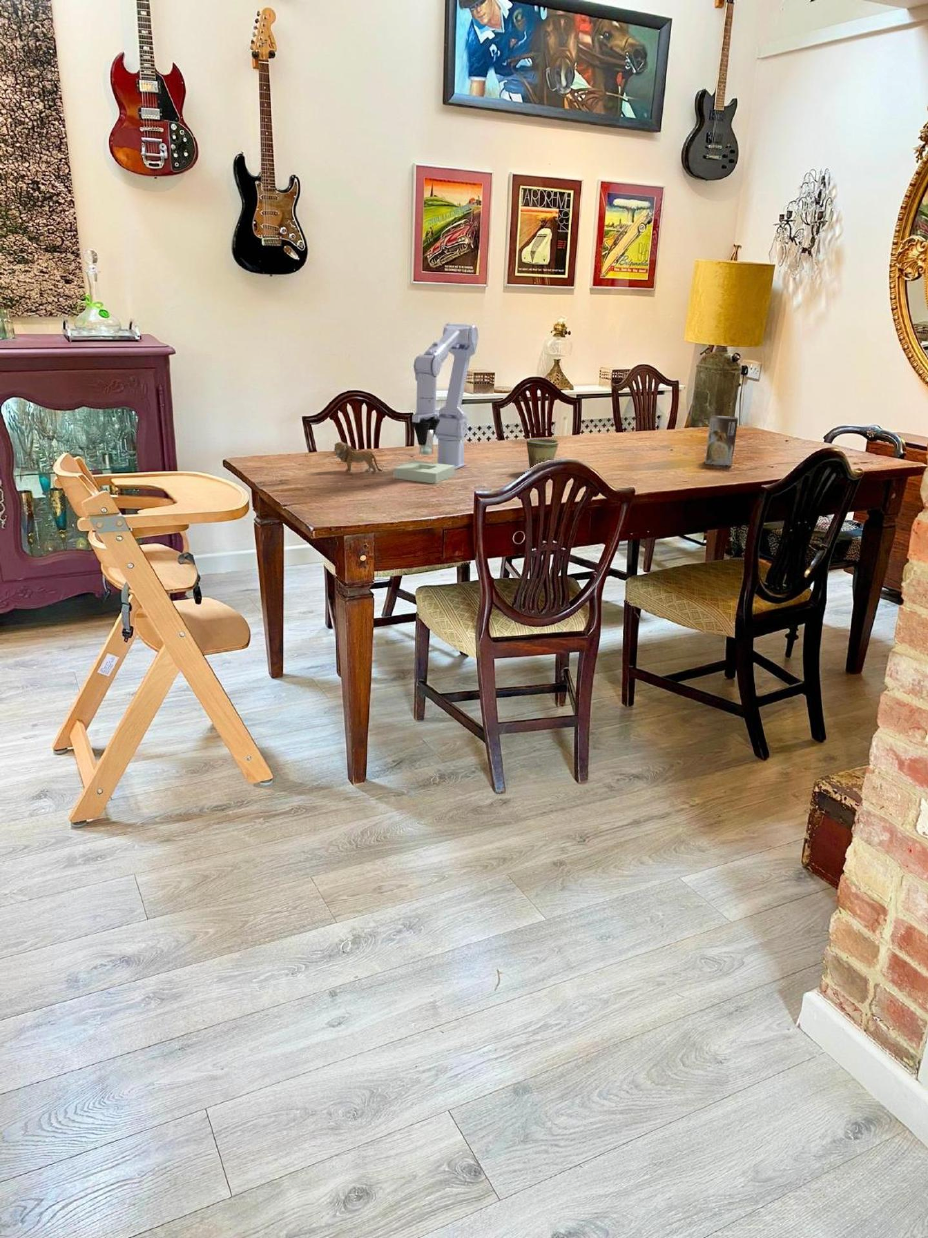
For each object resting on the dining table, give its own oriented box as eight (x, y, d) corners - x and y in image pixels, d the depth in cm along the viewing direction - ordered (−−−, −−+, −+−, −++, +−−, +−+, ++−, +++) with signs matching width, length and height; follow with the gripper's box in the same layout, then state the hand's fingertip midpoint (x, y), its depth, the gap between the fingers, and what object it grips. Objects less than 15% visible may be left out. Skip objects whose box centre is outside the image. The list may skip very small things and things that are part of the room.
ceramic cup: (554, 476, 272) (556, 444, 269) (522, 474, 274) (524, 442, 270) (558, 468, 284) (560, 437, 281) (528, 466, 286) (530, 435, 282)
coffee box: (731, 463, 306) (738, 416, 301) (731, 466, 301) (739, 419, 295) (704, 460, 308) (710, 414, 302) (704, 464, 302) (711, 417, 297)
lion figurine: (333, 472, 265) (332, 442, 262) (335, 469, 270) (335, 439, 267) (381, 474, 265) (381, 444, 262) (383, 471, 270) (383, 441, 267)
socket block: (413, 469, 273) (414, 460, 272) (454, 475, 268) (455, 465, 267) (393, 477, 261) (393, 467, 260) (435, 483, 256) (436, 473, 255)
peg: (421, 451, 264) (422, 428, 262) (434, 452, 263) (435, 429, 261) (417, 453, 261) (418, 430, 258) (430, 455, 260) (431, 431, 257)
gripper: (428, 401, 249) (427, 448, 253) (448, 396, 261) (447, 441, 266) (406, 398, 251) (405, 446, 256) (427, 394, 264) (426, 439, 268)
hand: (425, 443), depth 261 cm, fingers closed on peg, 4 cm apart
